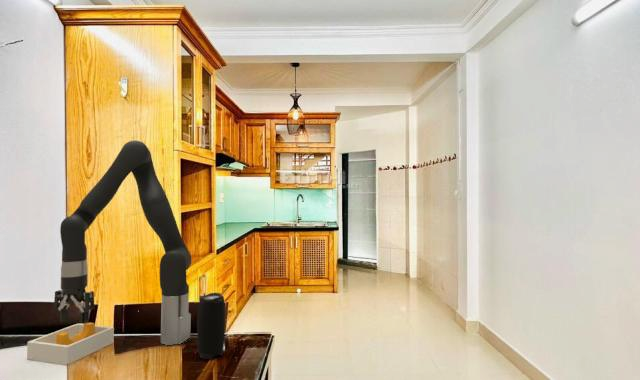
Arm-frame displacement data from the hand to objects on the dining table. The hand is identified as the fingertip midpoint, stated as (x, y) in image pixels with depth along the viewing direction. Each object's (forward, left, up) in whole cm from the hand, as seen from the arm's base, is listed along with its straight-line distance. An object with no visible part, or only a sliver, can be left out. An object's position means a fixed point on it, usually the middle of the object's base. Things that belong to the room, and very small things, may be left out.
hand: (73, 321), depth 121 cm
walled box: (0, 0, -10) cm, 10 cm away
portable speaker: (-47, -9, -10) cm, 49 cm away
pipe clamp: (0, 0, -9) cm, 9 cm away
